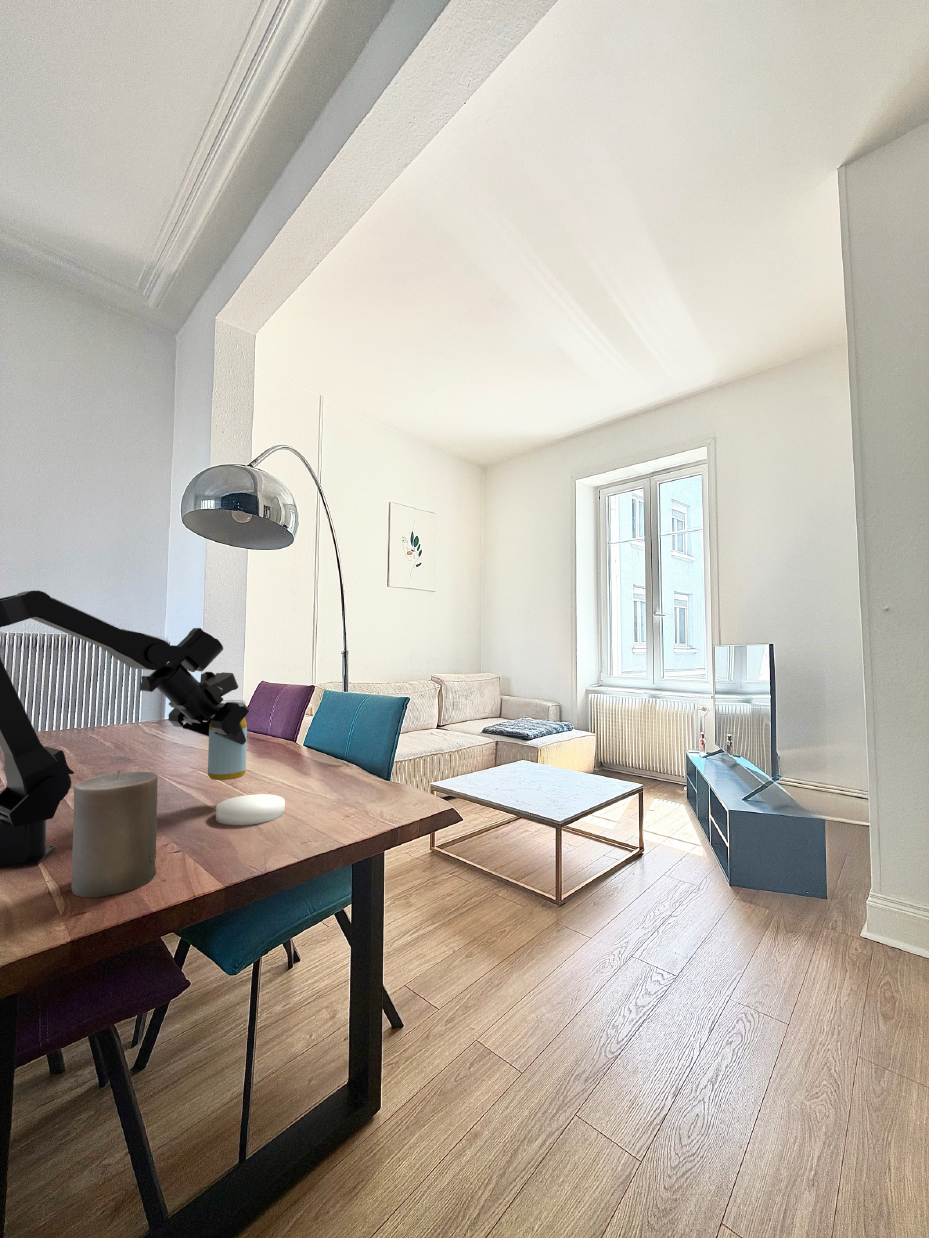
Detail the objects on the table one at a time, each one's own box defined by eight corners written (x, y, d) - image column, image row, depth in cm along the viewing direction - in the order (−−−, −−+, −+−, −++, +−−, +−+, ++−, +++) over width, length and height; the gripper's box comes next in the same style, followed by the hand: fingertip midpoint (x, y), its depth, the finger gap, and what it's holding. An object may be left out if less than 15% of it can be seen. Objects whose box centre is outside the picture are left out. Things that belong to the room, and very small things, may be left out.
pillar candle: (172, 870, 75) (175, 764, 76) (109, 903, 65) (113, 780, 66) (118, 863, 77) (121, 760, 78) (50, 893, 68) (54, 775, 69)
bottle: (252, 773, 109) (254, 700, 110) (231, 781, 102) (234, 703, 103) (222, 771, 110) (224, 699, 111) (199, 779, 103) (202, 702, 104)
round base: (284, 821, 96) (284, 810, 96) (211, 828, 92) (212, 816, 92) (284, 802, 107) (284, 792, 107) (219, 807, 103) (219, 797, 103)
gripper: (242, 660, 99) (287, 713, 108) (185, 657, 109) (231, 706, 118) (200, 706, 92) (252, 759, 101) (144, 698, 102) (196, 747, 111)
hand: (233, 740), depth 108 cm, fingers closed on bottle, 7 cm apart
